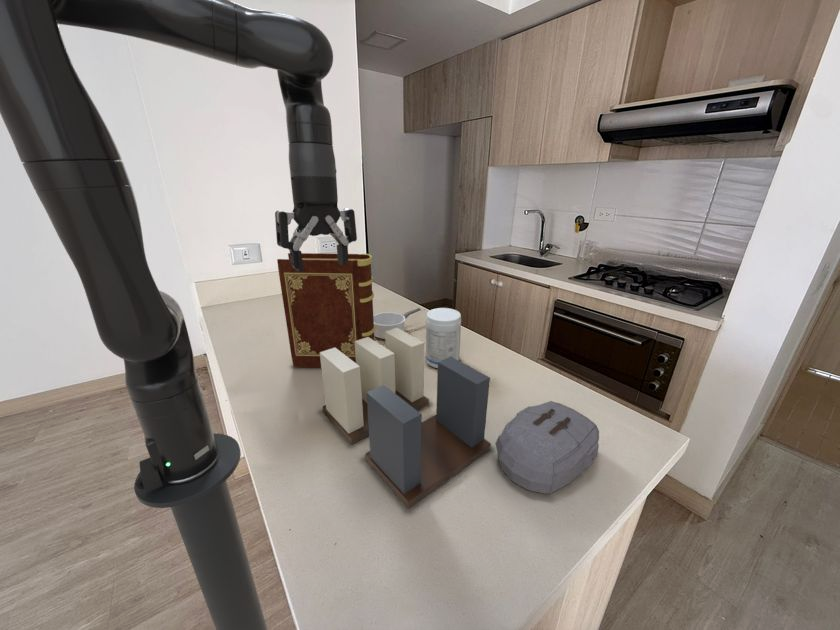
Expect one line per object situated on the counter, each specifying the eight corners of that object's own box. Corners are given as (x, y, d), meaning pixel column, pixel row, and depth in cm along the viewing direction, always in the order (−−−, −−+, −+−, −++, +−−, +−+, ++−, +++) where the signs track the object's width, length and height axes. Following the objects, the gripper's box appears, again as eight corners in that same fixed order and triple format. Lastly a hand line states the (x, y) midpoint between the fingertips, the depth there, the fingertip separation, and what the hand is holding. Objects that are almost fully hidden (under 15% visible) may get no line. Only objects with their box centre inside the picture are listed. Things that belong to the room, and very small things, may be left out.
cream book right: (412, 402, 77) (411, 347, 71) (386, 383, 84) (384, 331, 78) (423, 396, 79) (424, 342, 73) (398, 378, 86) (397, 327, 81)
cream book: (382, 417, 72) (380, 358, 67) (358, 395, 79) (354, 341, 74) (395, 410, 74) (394, 353, 69) (371, 389, 81) (368, 336, 76)
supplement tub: (433, 350, 103) (435, 305, 97) (463, 357, 99) (466, 310, 93) (419, 365, 95) (420, 316, 89) (451, 373, 91) (453, 323, 85)
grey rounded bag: (537, 416, 75) (476, 460, 63) (543, 383, 72) (479, 423, 60) (608, 456, 64) (550, 519, 52) (618, 420, 61) (558, 478, 49)
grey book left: (404, 494, 54) (403, 423, 49) (370, 457, 61) (366, 392, 56) (420, 483, 56) (421, 413, 51) (386, 448, 63) (384, 384, 58)
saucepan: (430, 327, 119) (431, 312, 117) (385, 345, 106) (384, 328, 104) (409, 318, 127) (409, 304, 124) (364, 333, 114) (363, 317, 112)
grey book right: (471, 447, 64) (477, 384, 59) (435, 420, 71) (437, 361, 66) (484, 439, 66) (490, 377, 61) (448, 413, 73) (450, 356, 68)
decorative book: (378, 355, 100) (374, 253, 89) (374, 369, 93) (369, 260, 81) (302, 353, 100) (288, 252, 89) (292, 367, 93) (276, 259, 82)
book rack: (408, 508, 54) (408, 501, 53) (322, 411, 76) (321, 406, 75) (490, 449, 66) (491, 443, 65) (395, 380, 88) (395, 375, 87)
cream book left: (348, 433, 67) (343, 372, 62) (326, 409, 74) (319, 352, 69) (363, 426, 69) (359, 366, 64) (340, 402, 76) (335, 347, 71)
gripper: (341, 175, 65) (345, 259, 71) (262, 172, 56) (275, 268, 62) (361, 175, 60) (364, 266, 65) (278, 172, 51) (290, 277, 57)
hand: (321, 267), depth 64 cm, fingers open, 8 cm apart
